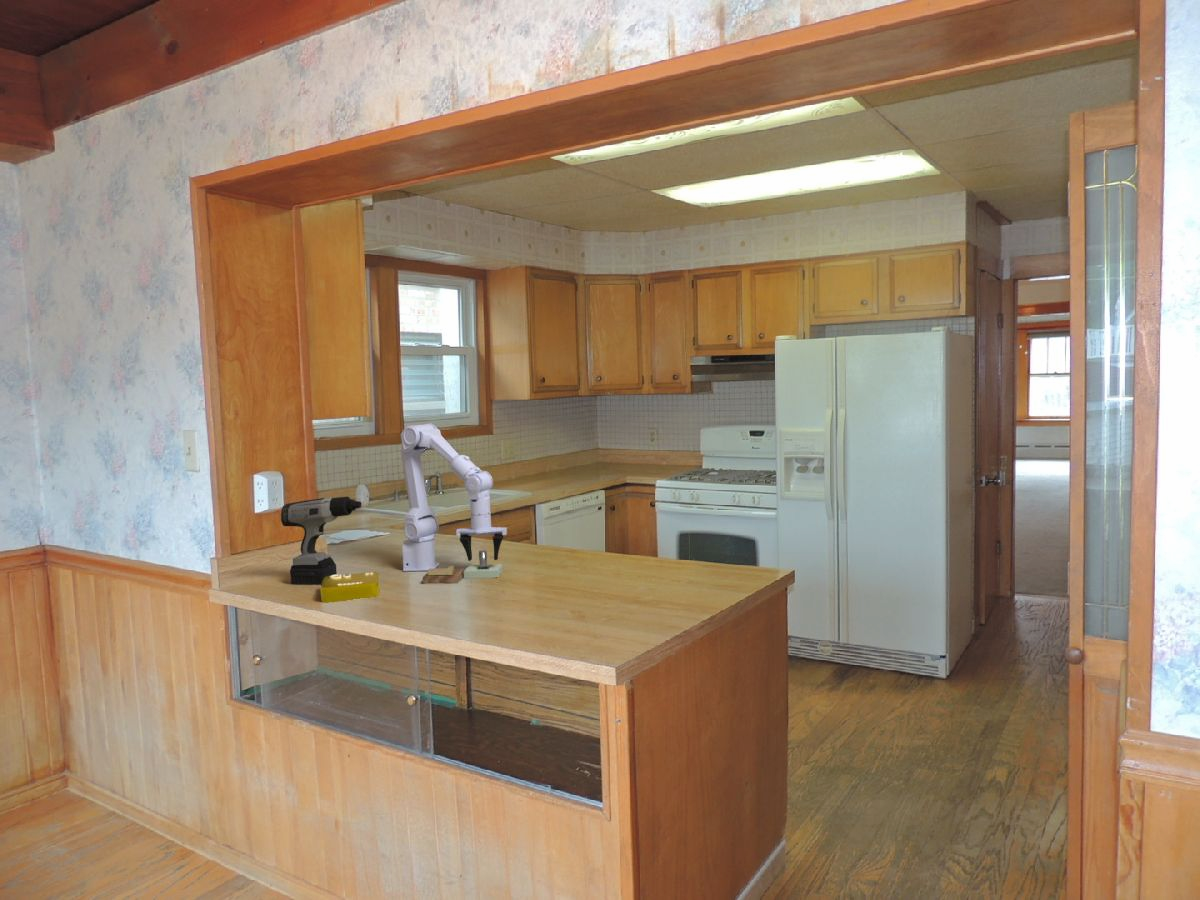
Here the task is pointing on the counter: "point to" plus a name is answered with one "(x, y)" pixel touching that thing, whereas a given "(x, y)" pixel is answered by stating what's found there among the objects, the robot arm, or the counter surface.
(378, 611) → the counter surface
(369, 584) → the element tile
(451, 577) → the socket block
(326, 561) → the cordless drill
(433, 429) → the robot arm
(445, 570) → the bar
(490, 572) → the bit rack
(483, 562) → the silver cylindrical rod
